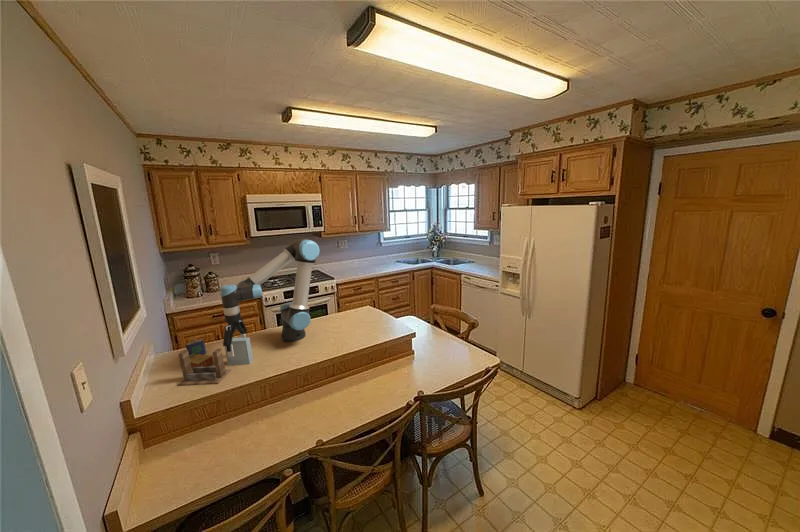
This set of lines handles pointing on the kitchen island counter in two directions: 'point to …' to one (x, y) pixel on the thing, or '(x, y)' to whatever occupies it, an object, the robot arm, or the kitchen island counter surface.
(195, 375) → the track frame
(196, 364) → the carton
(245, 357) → the door panel
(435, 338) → the kitchen island counter surface
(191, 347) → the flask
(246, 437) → the kitchen island counter surface
